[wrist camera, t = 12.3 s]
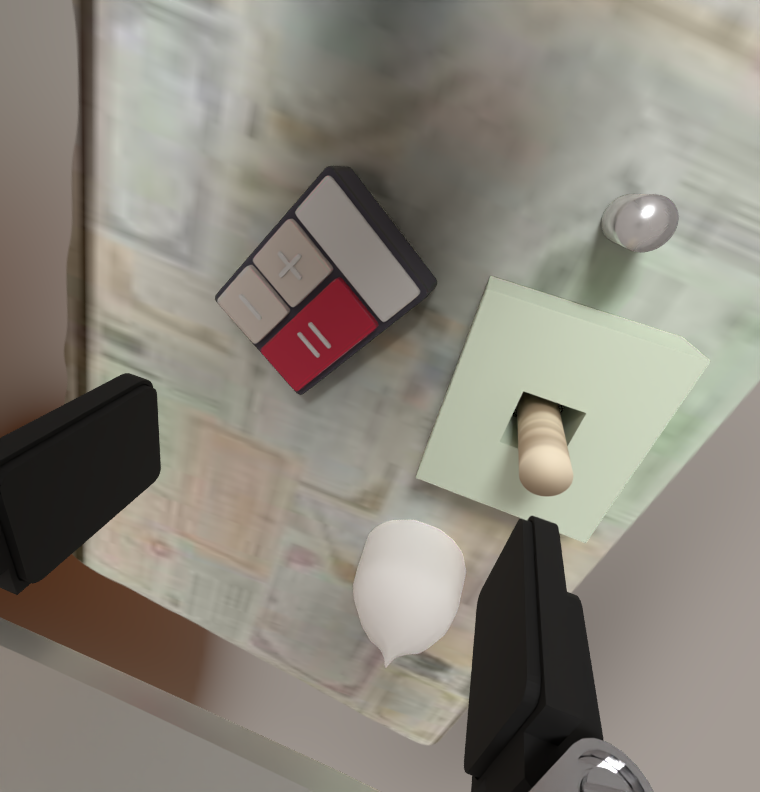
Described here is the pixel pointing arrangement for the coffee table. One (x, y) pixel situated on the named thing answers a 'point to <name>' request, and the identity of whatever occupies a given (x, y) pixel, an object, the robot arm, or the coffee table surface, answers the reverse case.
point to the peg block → (562, 383)
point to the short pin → (640, 221)
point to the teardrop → (408, 586)
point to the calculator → (325, 280)
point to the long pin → (542, 447)
